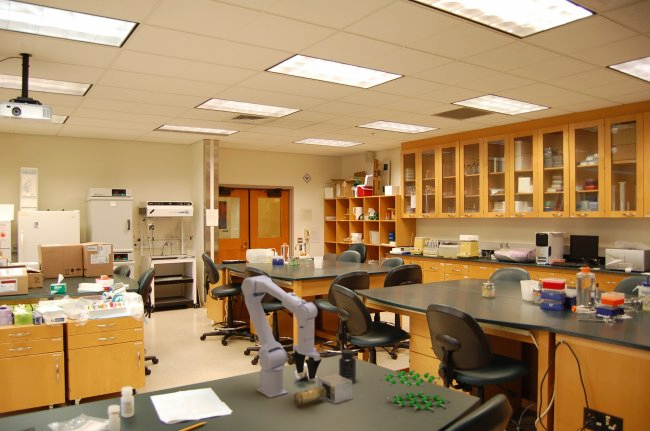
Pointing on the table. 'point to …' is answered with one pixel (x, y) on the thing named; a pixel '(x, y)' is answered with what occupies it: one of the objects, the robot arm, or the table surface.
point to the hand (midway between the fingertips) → (306, 375)
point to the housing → (336, 387)
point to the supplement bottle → (347, 365)
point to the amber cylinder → (309, 395)
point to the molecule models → (413, 393)
